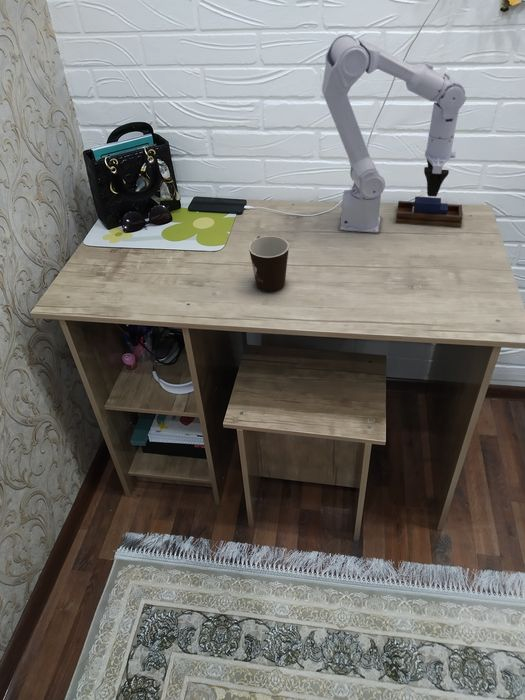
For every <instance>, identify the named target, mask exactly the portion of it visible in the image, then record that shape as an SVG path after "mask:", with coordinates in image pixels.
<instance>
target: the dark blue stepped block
mask: <svg viewBox="0 0 525 700" xmlns="http://www.w3.org/2000/svg"><path fill="white" fill-rule="evenodd" d="M413 202H414V207H413V211H412V212H416V213H429V214H443V215H447V212H448V204H449V203H446V202H445V203H443V202H442V198H441V197H432V196H415V197H414V201H413Z"/></svg>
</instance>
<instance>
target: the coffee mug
mask: <svg viewBox="0 0 525 700" xmlns="http://www.w3.org/2000/svg"><path fill="white" fill-rule="evenodd" d="M248 249H249V251H248V252H249V254H250V255H249V256H250V262H251V265H252V266H251V267H252V270H253V276H254V279H255V285H256V288H257V289H258V290H259V291H261V292H263V293H267V294H273V293H277V292H279V291H281V290H283V289H284V287H285V284H286V277H287V268H288V260H289V259H288V258H289V249H290V244H289V241H287V240H286V239H285V238H283V237H281V236H277V235H264V236H260V235H259V236H257V237H256V238H255V239H253V240H252V241H251V242H250V243H249V245H248Z"/></svg>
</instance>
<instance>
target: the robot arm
mask: <svg viewBox="0 0 525 700" xmlns="http://www.w3.org/2000/svg"><path fill="white" fill-rule="evenodd" d="M324 66H325V67H324V73H323V79H322V85H321V86H322V87H321V92H322V95H323V98H324V100H325V103H326V106H327V107H328V110H329V112H330V116H331V118H332V120H333V124H334V125H335V127H336V130H337V133H338V136H339V137H340V140H341V143H342V145H343V149H344V151H345V153H346V155H347V158H348V162H349V165H350V170H349V171H350V172H349V175H350V178H351V180H352V181H353V185H352V186H351V189H344V191H343V193H342V198H341V199H342V201H341V210H340V230H341V231H349V232H360V233H361V232H362V233H373V234H377V233H379V231H380V230H379V229H380V224H381V215H380V208H381V207H380V206H381V196H382V193H383V192H384V190H385V187H386V181H385V179H384V177H383V176H382V175H381V174H380V172H379V171H378V169H377V167H376V165H375V163H374V162H373V160H372V158H371V156H370V154H369V153H370V152H369V149H368V148H367V144H366V142H365V139H364V137H363V135H362V132H361V128H360V126H359V123H358V120H357V117H356V115H355V113H354V109H353V107H352V105H351V101H350V99H349V96H348V93H349V92H350V91H351V88H352V86H353V85H354V84H355V83H356V82H357V81H359V79H360V78H361V77H362V76H363V75H364V74H365V73H366V74H368V75H369V74H371V73H373V72H375V71H377V70H379V71H381V72H383V73H385V74H388V75H390V76H393V78H397V79H399V80H401V81H403V82H405V86H406V89H407V91H409V92H410V93H413V94H415V95H417V96H419V97H421V98H423V99H426V100H428V101H429V102H433V107H432V112H431V117H430V124H429V125H430V126H429V132H428V138H427V144H426V149H425V151H424V157H425V159H426V163H427V166H424V168H423V173H424V176H425V179H426V194H427V197H433V198H437V196H438V193H439V191H440V189H441V186H442V184H443V182H444V181H445V179H446V178H447V177H448V175H449V174H450V170H449V169H443V167H444V165H445V164H446V163H448V161H449V160H450V159H455V158H456V156H457V152H456V151H452V149H453V143H454V138H455V133H456V128H457V121H458V117H459V112H460V109H461V108H462V107H463V106H464V104H465V102H466V100H467V96H466V90H465V87H463V86H462V85H463V84H461V83H459V82H458V81H457V80H456V79H454V78H453V77H451V75H450V74H449V73H444V74H443V73H441V72H439V71H437V70H435V69H434V65H433V64H431V63H429V62H426V64H424V63H421V62H420V63H417V64H415V65H411V64H409V63H408V62H406V61H404V60H402V59H400V58H398V57H397V56H395V55H393V54H392V53H390V52H388V51H386V50H384V49H383V48H382V47H379V46H377V45H375V44H373V43H370V42H369V41H366V40H364V39H360V38H357V40H356V38H355V37H354V36H353V35H350V34H341V35H338V36H337V37H335V39H333V41H332V42H331V44H330V45H329V47H328V49H327V51H326V54H325V65H324Z"/></svg>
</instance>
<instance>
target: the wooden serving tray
mask: <svg viewBox="0 0 525 700" xmlns="http://www.w3.org/2000/svg"><path fill="white" fill-rule="evenodd" d="M414 202H415V201H410V200H409V201H407V200H398V202H397V210H396V218H395V223H396V224H405V225H419V226H420V225H421V226H434V227H445V228H446V227H447V228H459V229H460V228H462V221H463V205H462V204H453V203H447V204H448V212H447V215H443V214H429V213H416V212H412V211H413V207H414Z"/></svg>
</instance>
